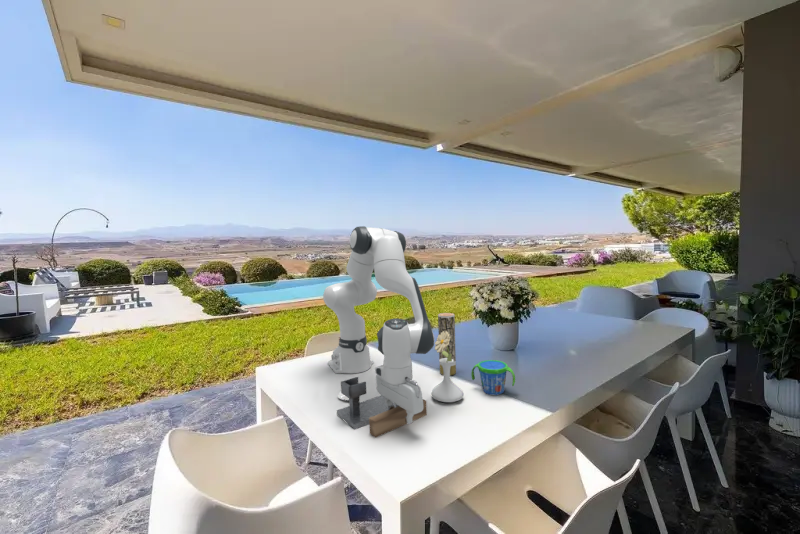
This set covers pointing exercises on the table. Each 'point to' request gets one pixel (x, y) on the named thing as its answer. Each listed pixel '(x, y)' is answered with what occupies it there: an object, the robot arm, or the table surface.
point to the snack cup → (493, 376)
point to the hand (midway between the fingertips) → (399, 416)
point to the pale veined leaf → (340, 395)
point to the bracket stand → (360, 404)
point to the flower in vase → (446, 374)
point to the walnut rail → (392, 420)
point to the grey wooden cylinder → (448, 324)
